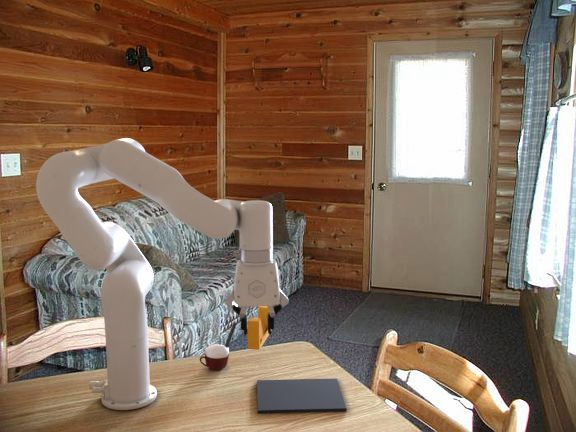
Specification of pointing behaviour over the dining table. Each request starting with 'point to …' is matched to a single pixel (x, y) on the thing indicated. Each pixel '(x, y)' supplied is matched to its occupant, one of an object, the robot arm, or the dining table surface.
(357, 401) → the dining table surface
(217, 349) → the cocoa
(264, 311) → the pipe clamp
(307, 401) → the mat
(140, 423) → the dining table surface
